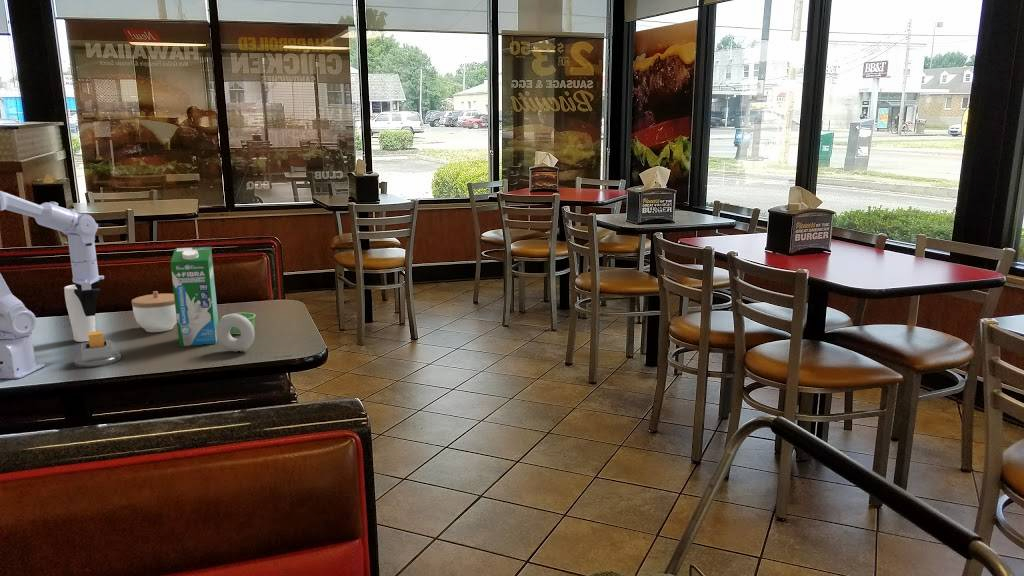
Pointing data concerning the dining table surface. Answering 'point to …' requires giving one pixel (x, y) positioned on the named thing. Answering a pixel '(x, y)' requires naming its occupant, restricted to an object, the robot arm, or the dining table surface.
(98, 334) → the orange block
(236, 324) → the donut
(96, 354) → the grey square frame
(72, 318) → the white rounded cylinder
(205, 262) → the milk carton
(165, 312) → the lidded bowl
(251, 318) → the ramekin
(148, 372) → the dining table surface
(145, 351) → the dining table surface
